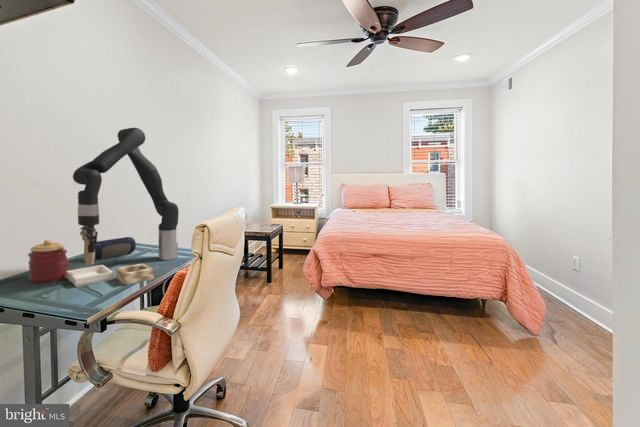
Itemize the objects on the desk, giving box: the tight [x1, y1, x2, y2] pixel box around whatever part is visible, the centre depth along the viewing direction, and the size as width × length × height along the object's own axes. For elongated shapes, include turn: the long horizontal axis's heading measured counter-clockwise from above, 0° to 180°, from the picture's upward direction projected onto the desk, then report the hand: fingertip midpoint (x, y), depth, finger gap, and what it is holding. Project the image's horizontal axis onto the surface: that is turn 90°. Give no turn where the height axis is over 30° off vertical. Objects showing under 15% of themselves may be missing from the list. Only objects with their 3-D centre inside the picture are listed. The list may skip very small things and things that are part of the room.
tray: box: [66, 264, 115, 288], centre depth 138 cm, size 14×14×4 cm
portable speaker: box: [94, 236, 137, 261], centre depth 171 cm, size 25×10×10 cm, turn 152°
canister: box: [27, 239, 69, 284], centre depth 134 cm, size 13×13×18 cm
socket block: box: [115, 263, 155, 286], centre depth 142 cm, size 12×11×5 cm
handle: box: [79, 231, 99, 266], centre depth 136 cm, size 5×6×15 cm
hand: (89, 251), depth 136 cm, fingers closed on handle, 4 cm apart
